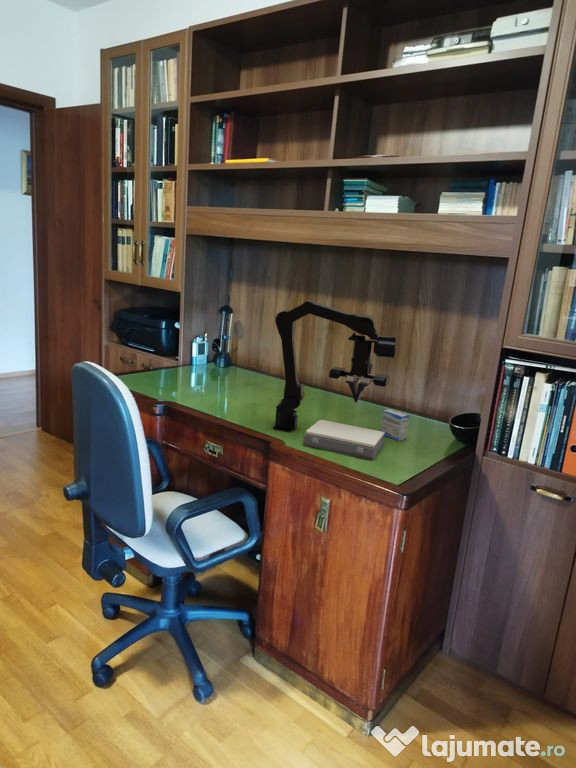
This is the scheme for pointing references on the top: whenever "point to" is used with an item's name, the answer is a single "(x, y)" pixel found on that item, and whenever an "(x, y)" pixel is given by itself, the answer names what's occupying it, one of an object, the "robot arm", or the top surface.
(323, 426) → the tray lid
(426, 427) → the top surface
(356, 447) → the cable tray
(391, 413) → the medicine box
